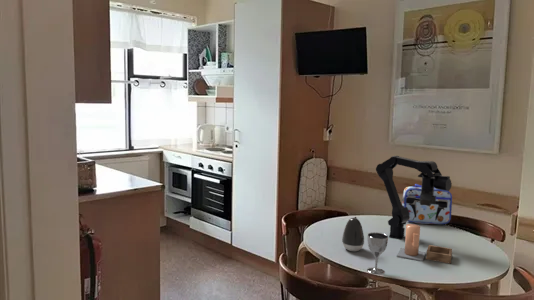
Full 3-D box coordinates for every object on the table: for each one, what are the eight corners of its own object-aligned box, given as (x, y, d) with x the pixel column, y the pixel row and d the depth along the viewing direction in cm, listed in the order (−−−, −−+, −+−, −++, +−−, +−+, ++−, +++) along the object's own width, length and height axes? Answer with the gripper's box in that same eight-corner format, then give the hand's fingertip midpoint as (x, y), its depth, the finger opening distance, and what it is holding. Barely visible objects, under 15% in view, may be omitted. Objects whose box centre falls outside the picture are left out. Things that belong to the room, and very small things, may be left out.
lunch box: (400, 223, 241) (403, 185, 238) (398, 218, 251) (401, 182, 248) (451, 226, 235) (454, 188, 233) (447, 221, 245) (450, 184, 243)
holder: (426, 259, 186) (426, 251, 185) (428, 252, 195) (428, 244, 194) (450, 263, 181) (451, 255, 181) (451, 256, 190) (452, 248, 190)
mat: (396, 256, 188) (396, 255, 188) (400, 249, 198) (400, 248, 197) (422, 261, 183) (422, 260, 183) (425, 253, 193) (425, 252, 193)
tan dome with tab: (403, 251, 193) (404, 223, 192) (416, 251, 193) (418, 224, 192) (407, 257, 185) (409, 229, 183) (421, 258, 184) (423, 229, 183)
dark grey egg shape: (365, 247, 199) (366, 216, 198) (362, 254, 190) (364, 222, 188) (343, 244, 203) (344, 213, 201) (340, 251, 193) (341, 219, 191)
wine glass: (363, 267, 175) (365, 232, 174) (381, 266, 176) (383, 232, 174) (369, 275, 167) (371, 238, 166) (388, 274, 168) (391, 238, 166)
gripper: (405, 188, 198) (403, 220, 200) (447, 192, 190) (445, 226, 192) (408, 184, 208) (406, 214, 210) (449, 188, 200) (446, 220, 202)
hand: (425, 218), depth 203 cm, fingers open, 9 cm apart
